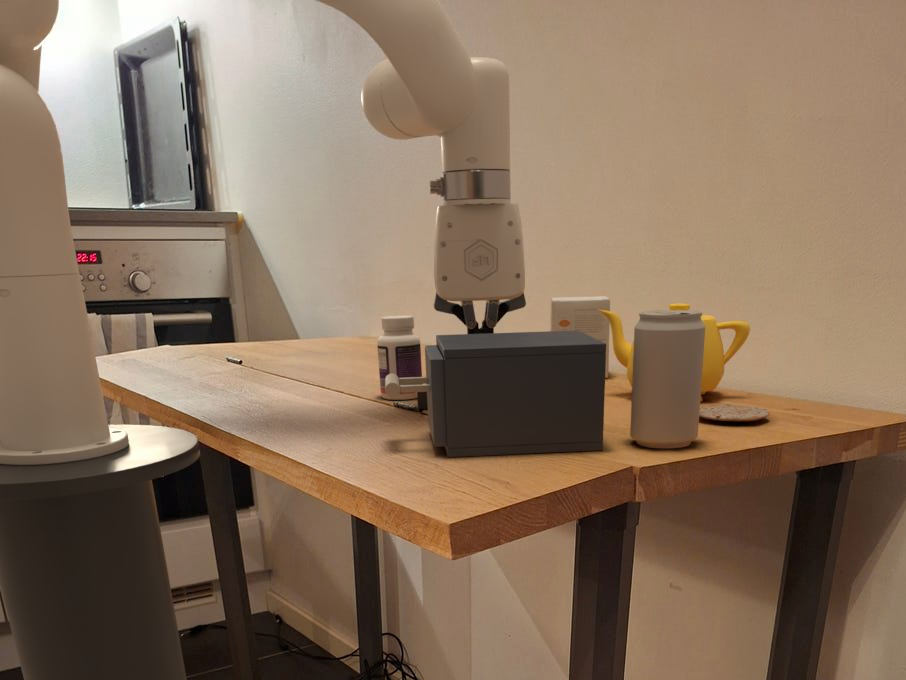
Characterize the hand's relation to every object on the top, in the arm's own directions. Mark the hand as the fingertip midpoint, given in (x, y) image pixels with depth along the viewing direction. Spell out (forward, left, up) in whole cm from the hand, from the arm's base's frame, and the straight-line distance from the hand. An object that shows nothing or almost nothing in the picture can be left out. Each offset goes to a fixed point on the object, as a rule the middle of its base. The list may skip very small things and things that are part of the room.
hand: (481, 362), depth 107 cm
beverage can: (+26, -15, -5) cm, 30 cm away
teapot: (+20, +12, -5) cm, 24 cm away
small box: (+4, +25, -5) cm, 26 cm away
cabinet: (+12, -18, -5) cm, 22 cm away
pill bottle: (-12, +2, -5) cm, 13 cm away
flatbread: (+30, -1, -5) cm, 30 cm away
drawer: (+9, -20, -4) cm, 22 cm away
